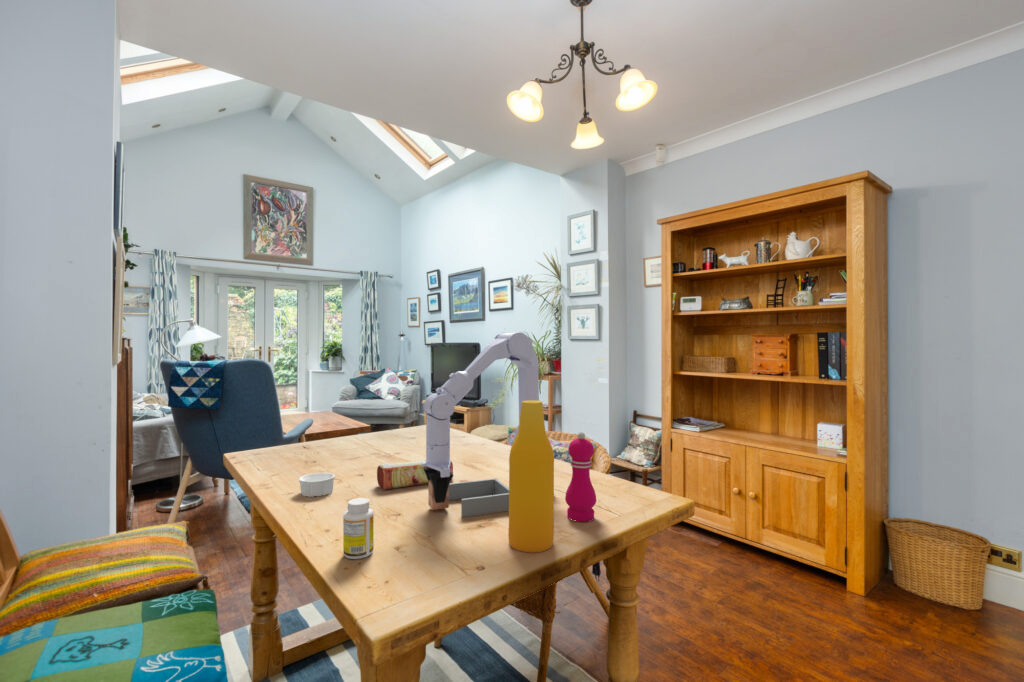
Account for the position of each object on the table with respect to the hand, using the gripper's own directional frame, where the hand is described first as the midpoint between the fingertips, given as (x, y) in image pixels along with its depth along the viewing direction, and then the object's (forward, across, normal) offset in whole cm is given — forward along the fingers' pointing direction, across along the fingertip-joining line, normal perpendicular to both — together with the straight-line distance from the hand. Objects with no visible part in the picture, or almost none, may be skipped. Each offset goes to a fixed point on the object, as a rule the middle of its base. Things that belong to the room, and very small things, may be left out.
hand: (437, 499), depth 117 cm
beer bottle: (+3, +26, +13) cm, 29 cm away
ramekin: (+3, -25, -27) cm, 37 cm away
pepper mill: (+3, +17, +30) cm, 35 cm away
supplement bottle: (+3, +18, -20) cm, 27 cm away
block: (+2, 0, 0) cm, 2 cm away
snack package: (+3, -24, -1) cm, 24 cm away
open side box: (+3, 0, +11) cm, 11 cm away
